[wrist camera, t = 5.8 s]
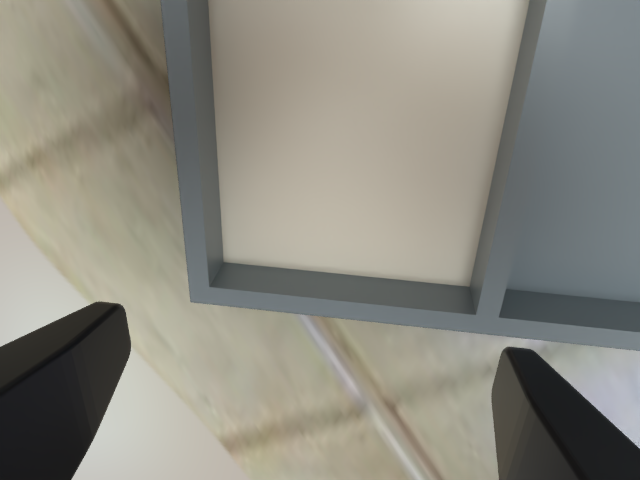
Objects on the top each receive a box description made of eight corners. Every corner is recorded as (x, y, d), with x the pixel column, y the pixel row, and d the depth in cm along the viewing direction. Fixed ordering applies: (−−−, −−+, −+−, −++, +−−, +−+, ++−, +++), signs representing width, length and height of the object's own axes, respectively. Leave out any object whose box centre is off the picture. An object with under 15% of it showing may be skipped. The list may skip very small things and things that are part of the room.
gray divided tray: (765, 325, 20) (810, 369, 18) (210, 269, 22) (190, 302, 20) (975, -49, 14) (1082, -52, 12) (184, -78, 16) (151, -85, 14)
